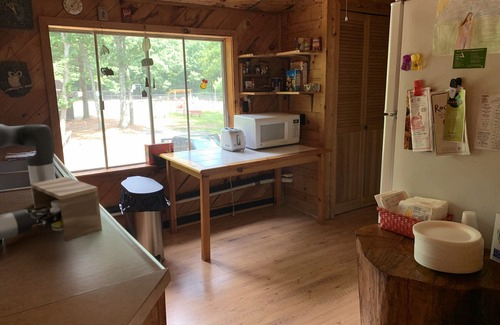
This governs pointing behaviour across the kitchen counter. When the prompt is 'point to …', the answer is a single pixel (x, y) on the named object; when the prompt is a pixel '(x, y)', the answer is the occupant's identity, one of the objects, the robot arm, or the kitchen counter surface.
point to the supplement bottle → (55, 208)
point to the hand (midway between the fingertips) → (66, 209)
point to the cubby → (71, 204)
